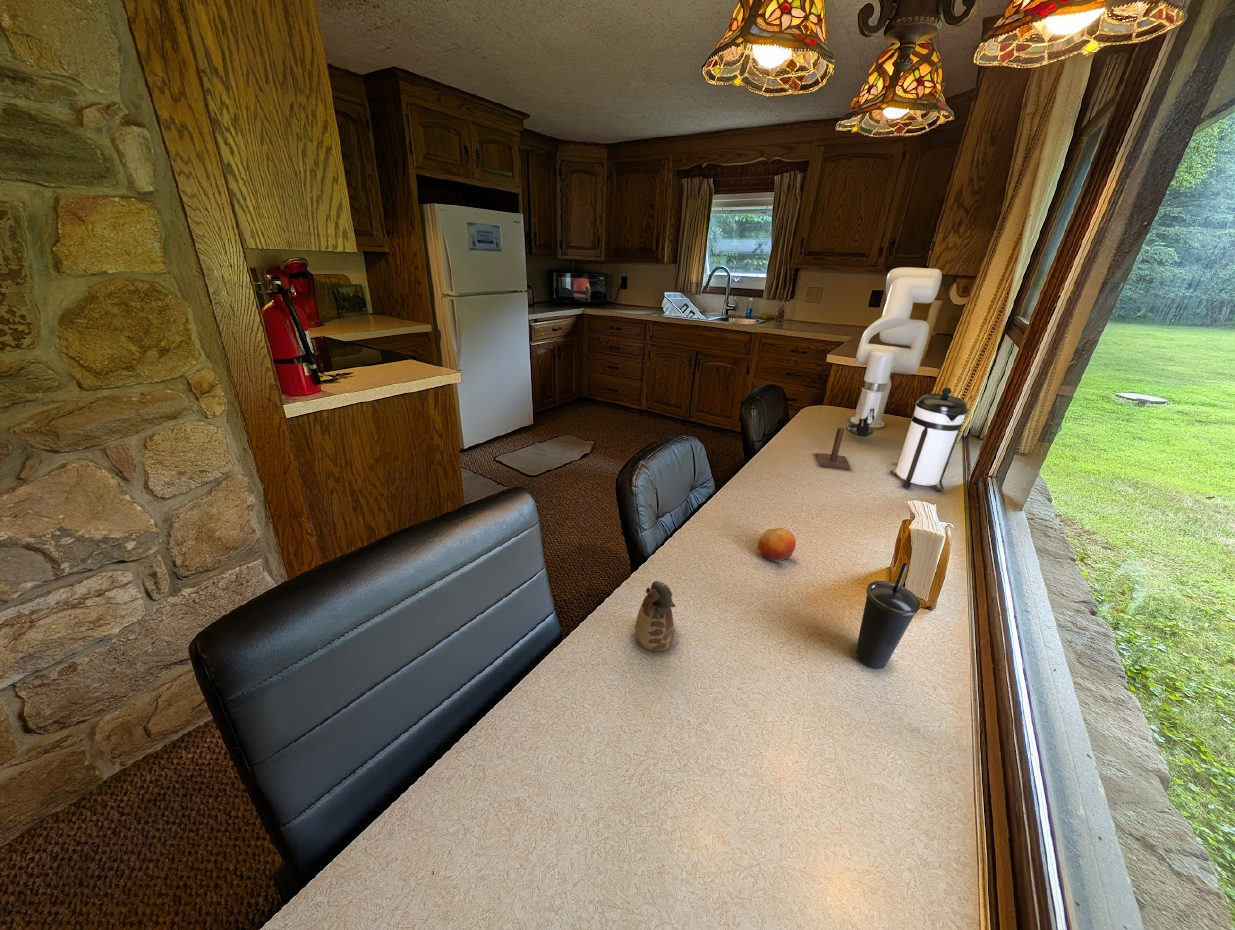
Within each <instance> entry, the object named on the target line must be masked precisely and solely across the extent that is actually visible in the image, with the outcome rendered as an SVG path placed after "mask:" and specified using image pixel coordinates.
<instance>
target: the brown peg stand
mask: <svg viewBox="0 0 1235 930" xmlns="http://www.w3.org/2000/svg"><path fill="white" fill-rule="evenodd" d="M844 432H845V428H843V427H837V429H836V434H835V438H834V441H833V444H832V445H833V446H832V450H831V452H830V453H823V452H816V458H817V462H818V465H819V467H822V468H828V469H838V470H844V471H850V470H851V466H850V464H849V461H848V459H847V456H845V455H839V452H840V448H841V444H842V440H843V436H844Z"/></svg>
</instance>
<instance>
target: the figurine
mask: <svg viewBox="0 0 1235 930" xmlns="http://www.w3.org/2000/svg"><path fill="white" fill-rule="evenodd" d="M645 593H646V595H645V597H644V598H643V600H642V603H641V605H640V607H639V610H638V613H637V616H636V620H635V625H634V630H635V631H634V636H635V639H636V641H637V643H638V644H639V645H640V646H641V647H642V648H644V649H645V650H648V651H650V652H654V653H656V652H664V651H667V650H668V649H670V648H671V647H672V645H673V642H674V637H675V632H676V629H675V623H674V613H673V611H672V608H676V607H677V606H676V605H677V604H675V603H674V602H673V599H672V597H673V592H672V589H671V588H670V587H669V585H668V584H666V583H665V582H663V581H659V580H655V581H653V582H652V583H651V585H650V587H647V588H646V589H645Z"/></svg>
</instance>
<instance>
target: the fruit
mask: <svg viewBox="0 0 1235 930" xmlns="http://www.w3.org/2000/svg"><path fill="white" fill-rule="evenodd" d="M796 545H797V541H796V537H795V535H794V534H793V533H792V532H791V531H790V530H788V529H786V528H784V527H776V528H768V529H766V530H765V531H764V532H763V534H762V535H760V537H759V539H758V542H757V548H758V551H759V553H760V555H762V556H763V557H764V558H766V559H767V560H768V561H772V562H775V563H777V564H781V562H783V561H784V560H786V559H788V560H790V561H793V559H792V558H791V557H792V556H793V554H794V552H795V550H796Z"/></svg>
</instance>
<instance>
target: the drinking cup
mask: <svg viewBox="0 0 1235 930" xmlns="http://www.w3.org/2000/svg"><path fill="white" fill-rule="evenodd" d="M907 568H908V563H906V562H902V564H901V566H900V570H899V571H898V575H897V577H896V580H895V583H894V582H891V581H886V580H875V581H872V582H870V583H869V584H868V585H867V586H866V589H865V592H866V597H865V603H864V609H863V614H862V618H861V623H860V628H859V632H858V638H857V643H856V647H855V656H856V658H857V660H858V661H859V662H860V663H861V664H863V665H864V666H866V667H868V668H870V669H873V670H881V669H884V668H885V667H886V666H887V664H888V662H889V661H890V659H891V657H892V656H893V654H894V652H895V650H896V648H897V647H898V645H899V644H900V641H901V639H902V638H903V636H904V635H905V632H906V631H907V629H908V628H909V625H910V623H911V622H912V620H913V618H914V616H915V615H916V614H918V612H920V609H921V602H920V600H919V598H918V596H916V594H914V593H913V592H912V591H911V590H909V589H908V588H906V587H904V586H902V585H901V584H902V581H903V579H904V575H905V573H906V570H907Z"/></svg>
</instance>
